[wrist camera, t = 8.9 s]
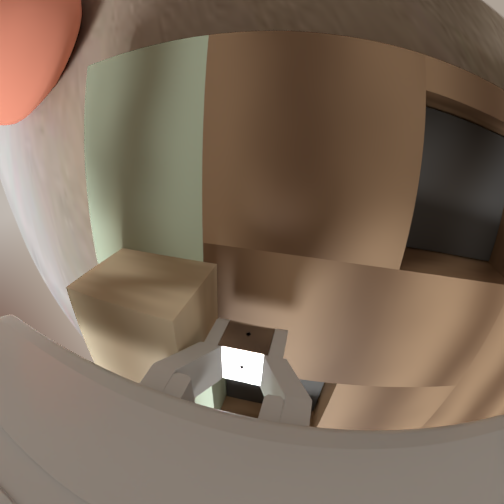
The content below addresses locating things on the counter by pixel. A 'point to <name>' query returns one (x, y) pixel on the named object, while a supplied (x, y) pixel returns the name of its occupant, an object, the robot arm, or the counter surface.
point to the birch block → (143, 309)
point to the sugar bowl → (33, 51)
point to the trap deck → (318, 211)
